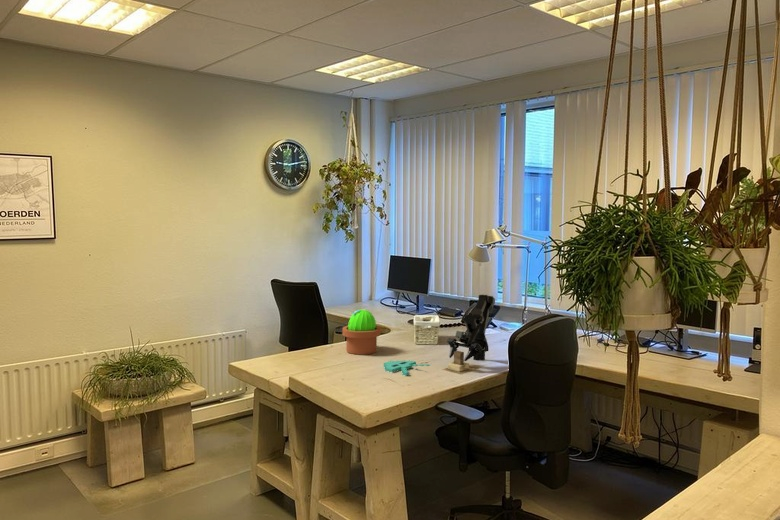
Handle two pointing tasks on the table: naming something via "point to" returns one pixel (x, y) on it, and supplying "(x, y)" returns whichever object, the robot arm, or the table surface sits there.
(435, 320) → the storage basket
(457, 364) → the block
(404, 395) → the table surface
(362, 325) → the potted cactus
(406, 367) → the alien figure
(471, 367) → the oak board
